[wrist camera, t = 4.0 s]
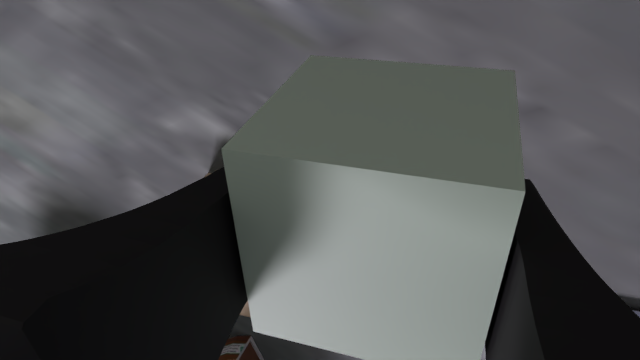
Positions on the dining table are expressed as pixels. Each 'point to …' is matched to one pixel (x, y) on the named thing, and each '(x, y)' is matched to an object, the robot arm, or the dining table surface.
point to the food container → (240, 349)
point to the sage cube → (378, 206)
